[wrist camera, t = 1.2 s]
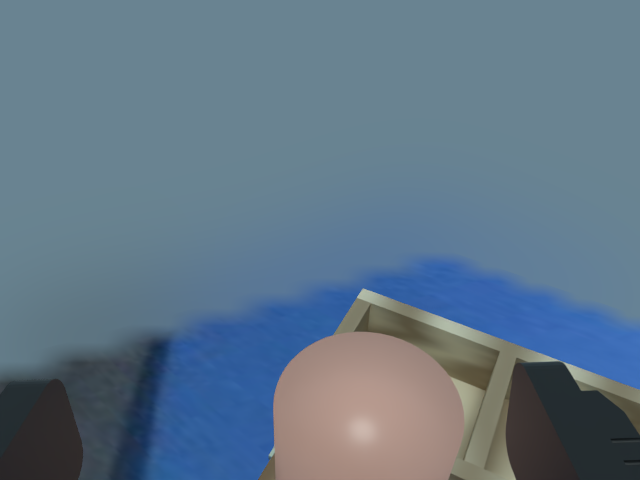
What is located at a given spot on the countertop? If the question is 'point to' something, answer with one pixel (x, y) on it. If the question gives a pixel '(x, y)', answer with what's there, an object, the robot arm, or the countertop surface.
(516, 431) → the robot arm
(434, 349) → the caddy
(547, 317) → the countertop surface
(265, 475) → the board
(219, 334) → the countertop surface
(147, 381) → the countertop surface
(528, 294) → the countertop surface
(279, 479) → the pink cylinder
